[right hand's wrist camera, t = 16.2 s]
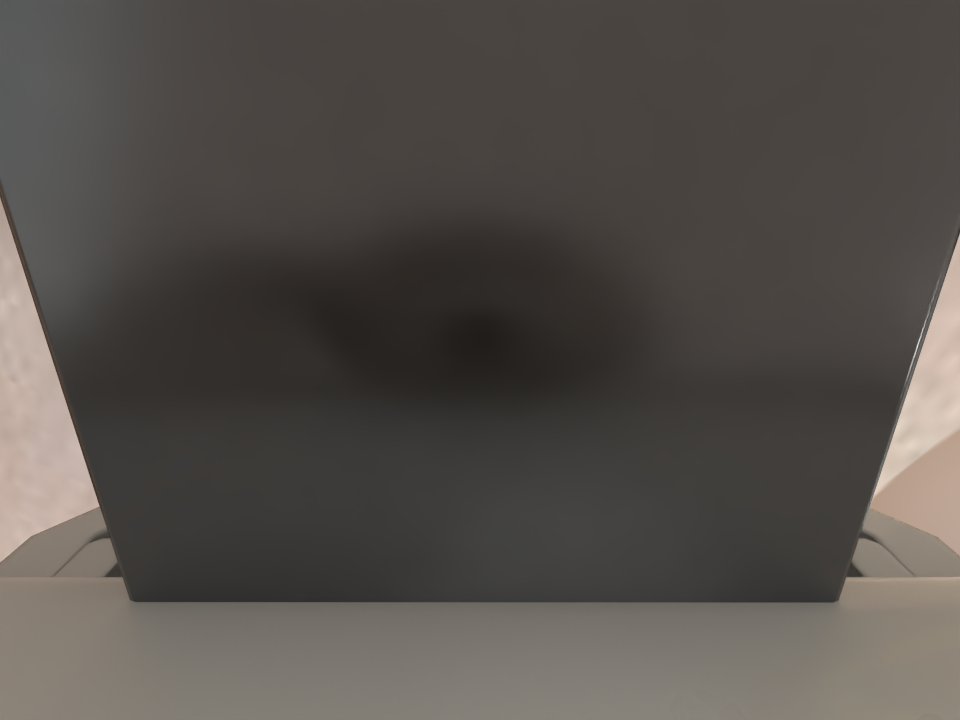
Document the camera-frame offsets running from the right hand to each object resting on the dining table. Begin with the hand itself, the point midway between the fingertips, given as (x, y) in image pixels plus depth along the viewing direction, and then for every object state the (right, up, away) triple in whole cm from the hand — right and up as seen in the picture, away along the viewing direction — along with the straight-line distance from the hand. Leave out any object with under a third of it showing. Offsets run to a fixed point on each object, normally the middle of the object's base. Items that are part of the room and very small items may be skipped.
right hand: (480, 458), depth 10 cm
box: (0, +11, +1) cm, 11 cm away
